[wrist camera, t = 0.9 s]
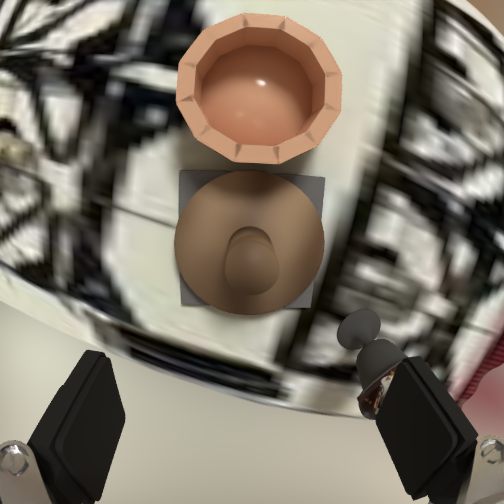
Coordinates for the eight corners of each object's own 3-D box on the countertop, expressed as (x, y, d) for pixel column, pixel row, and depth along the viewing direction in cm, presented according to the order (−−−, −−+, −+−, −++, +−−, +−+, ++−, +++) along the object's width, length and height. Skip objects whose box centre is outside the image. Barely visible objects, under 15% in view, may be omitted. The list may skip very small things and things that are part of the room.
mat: (323, 177, 25) (325, 177, 24) (308, 304, 29) (310, 307, 28) (180, 170, 24) (179, 170, 24) (182, 301, 28) (181, 303, 28)
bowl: (324, 45, 21) (341, 25, 17) (319, 166, 25) (337, 169, 20) (194, 37, 21) (184, 13, 16) (185, 159, 24) (173, 161, 19)
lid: (327, 175, 24) (353, 182, 19) (311, 309, 28) (328, 347, 22) (177, 168, 24) (157, 172, 18) (179, 305, 28) (166, 343, 22)
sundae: (397, 324, 30) (469, 417, 16) (352, 363, 31) (400, 468, 17) (366, 288, 29) (446, 387, 14) (316, 333, 30) (362, 450, 16)
